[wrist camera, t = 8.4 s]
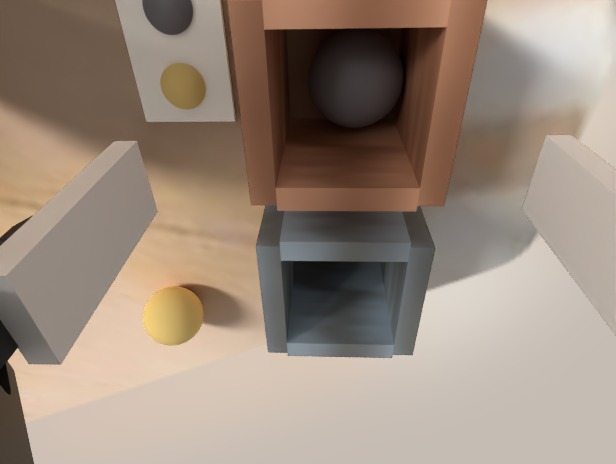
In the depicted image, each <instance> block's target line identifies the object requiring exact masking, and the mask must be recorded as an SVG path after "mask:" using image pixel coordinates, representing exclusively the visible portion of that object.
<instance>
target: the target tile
mask: <svg viewBox="0 0 616 464" xmlns="http://www.w3.org/2000/svg"><path fill="white" fill-rule="evenodd" d="M115 2H116V6H117V10H118V14H119V18H120V22H121V25H122V29H123V33H124V37H125V41H126V45H127V49H128V53H129V57H130V60H131V64H132V68H133V72H134V76H135V80H136V84H137V88H138V92H139V95H140V99H141V103H142V107H143V111H144V115H145V119H146V122H235V120H236V115H235V107H234V99H233V91H232V83H231V75H230V67H229V59H228V51H227V43H226V34H225V26H224V18H223V10H222V2H221V0H115Z"/></svg>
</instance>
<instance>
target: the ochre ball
mask: <svg viewBox="0 0 616 464" xmlns="http://www.w3.org/2000/svg"><path fill="white" fill-rule="evenodd" d="M203 314H204V313H203V307H202V304H201V302H200V300H199V298H198V297H197V296H196V295H195V294H194V293H193V292H192V291H190V290H188V289H186V288H183V287H168V288H164V289H162V290H160V291H158V292H156V293H155V294H154V295H153V296H152V297H151V298H150V299H149V300H148V302H147V304H146V305H145V308H144V311H143V325H144V328H145V330H146V332H147V333H148V335H149V336H150V337H151V338H152V339H153V340H155V341H156V342H158V343H160V344H164V345H179V344H182V343H185V342H187V341H188V340H190V339H191V338H192V337H193V336H195V334H196V333H197V332H198V331H199V329H200V327H201V325H202V321H203Z"/></svg>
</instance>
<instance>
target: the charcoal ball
mask: <svg viewBox="0 0 616 464" xmlns="http://www.w3.org/2000/svg"><path fill="white" fill-rule="evenodd" d="M403 75H404V74H403V65H402V61H401V58H400V55H399V53H398V51H397V49H396V48H395V46H394V45H393V43H392V42H391V41H390V40H389V39H388V38H387V37H386V36H384V35H383V34H381V33H380V32H378V31H376V30H373V29H370V28H346V29H343V30H340V31H338V32H336V33H334V34H333V35H331V36H330V37H328V38H327V39H326V40H325V41H324V42H323V43H322V44H321V45H320V47H319V48H318V50H317V51H316V53H315V55H314V57H313V59H312V62H311V65H310V69H309V89H310V94H311V97H312V100H313V102H314V104H315V105H316V107H317V108H318V110H319V111H320V112H321V113H322V115H323V116H325V117H326V118H327V119H328V120H330V121H331V122H333V123H335V124H337V125H340V126H343V127H349V128H360V127H365V126H368V125H371V124H373V123H375V122H377V121H379V120H381V119H382V118H383V117H384V116H386V115H387V114H388V113H389V112H390V110H391V109H392V108H393V107H394V105H395V104H396V102H397V100H398V98H399V96H400V93H401V90H402V85H403Z"/></svg>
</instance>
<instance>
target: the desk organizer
mask: <svg viewBox="0 0 616 464" xmlns="http://www.w3.org/2000/svg"><path fill="white" fill-rule="evenodd" d="M227 3H228V12H229V20H230V29H231V37H232V46H233V55H234V63H235V72H236V80H237V89H238V98H239V106H240V115H241V123H242V132H243V141H244V149H245V158H246V166H247V175H248V184H249V192H250V201H251V205H265V209H264V214H263V218H262V222H261V226H260V231H259V235H258V239H257V243H256V252H257V261H258V270H259V278H260V287H261V295H262V304H263V313H264V321H265V330H266V338H267V347H268V352H276V353H278V352H279V353H288V356H321V357H322V356H323V357H325V356H326V357H373V358H392V355H413V351H414V346H415V340H416V336H417V332H418V327H419V322H420V317H421V312H422V308H423V303H424V299H425V294H426V289H427V284H428V280H429V275H430V270H431V265H432V261H433V256H434V251H435V246H434V243H433V241H432V238H431V235H430V232H429V230H428V227H427V224H426V221H425V219H424V216H423V213H422V210H421V208H420V206H444V204H445V199H446V194H447V190H448V185H449V180H450V175H451V171H452V166H453V161H454V156H455V152H456V147H457V142H458V137H459V133H460V128H461V123H462V118H463V114H464V109H465V104H466V99H467V95H468V90H469V85H470V81H471V76H472V71H473V66H474V62H475V57H476V52H477V47H478V43H479V38H480V33H481V28H482V24H483V19H484V14H485V9H486V5H487V0H228V1H227ZM346 28H370V29H373V30H376V31H378V32H380V33H381V34H383V35H384V36H386V37H387V38H388V39H389V40H390V41H391V42H392V43H393V45H394V46H395V48H396V49H397V51H398V53H399V55H400V58H401V61H402V65H403V74H404V75H403V85H402V90H401V93H400V96H399V98H398V100H397V102H396V104H395V105H394V107H393V108H392V109H391V110H390V112H389V113H388V114H387V115H386V116H384V117H383V118H382V119H381V120H379V121H377V122H375V123H373V124H371V125H368V126H365V127H360V128H349V127H343V126H340V125H337V124H335V123H333V122H331V121H330V120H328V119H327V118H326V117H325V116H323V115H322V113H321V112H320V111H319V110H318V108H317V107H316V105H315V104H314V102H313V100H312V97H311V94H310V89H309V69H310V65H311V62H312V59H313V57H314V55H315V53H316V51H317V50H318V48H319V47H320V45H321V44H322V43H323V42H324V41H325V40H326V39H327V38H328V37H330V36H331V35H333V34H334V33H336V32H338V31H340V30H343V29H346Z"/></svg>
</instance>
